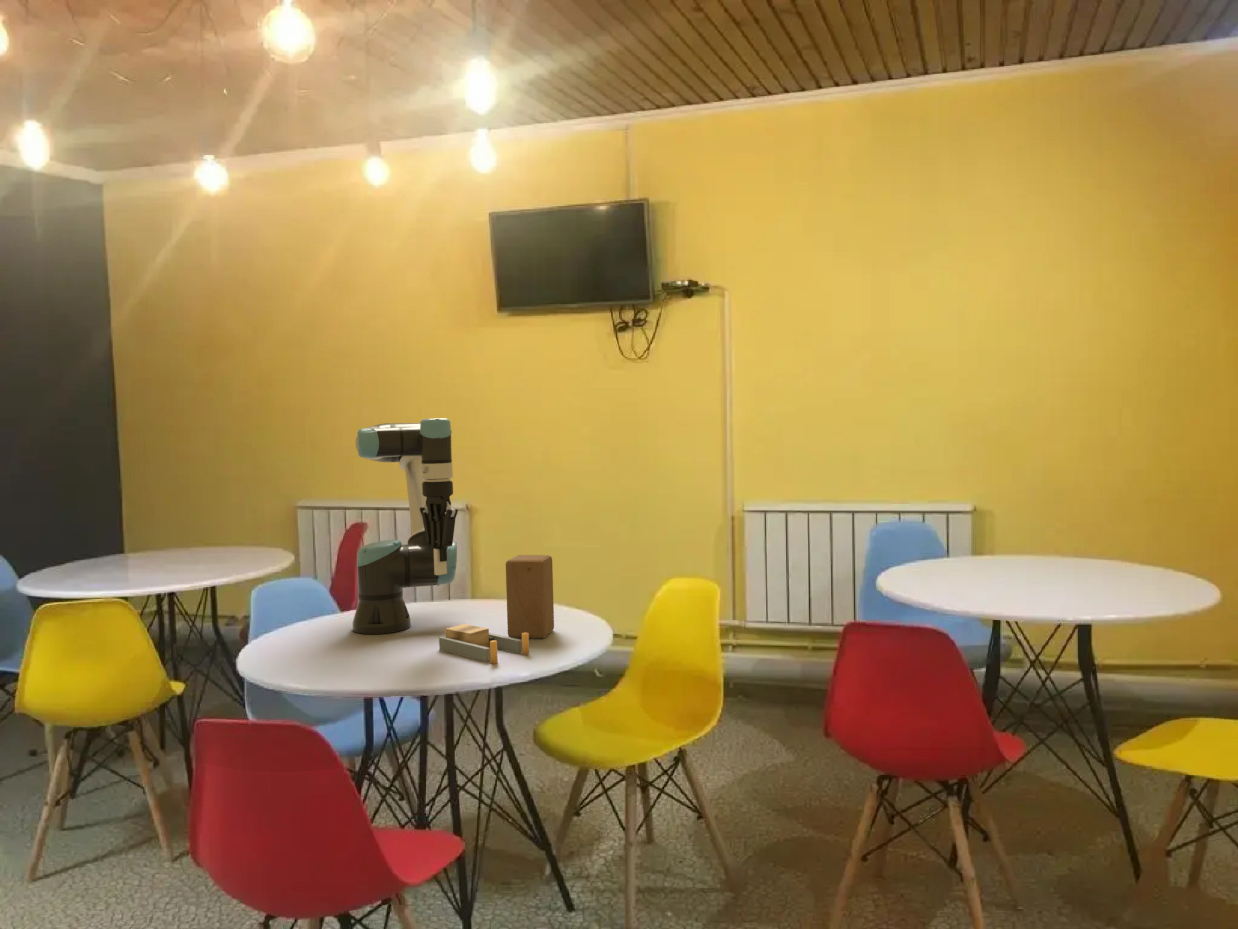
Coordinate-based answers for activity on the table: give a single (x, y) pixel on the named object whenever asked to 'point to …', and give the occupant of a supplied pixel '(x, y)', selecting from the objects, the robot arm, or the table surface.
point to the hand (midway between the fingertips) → (440, 574)
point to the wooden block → (530, 596)
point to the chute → (485, 652)
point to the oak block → (469, 634)
